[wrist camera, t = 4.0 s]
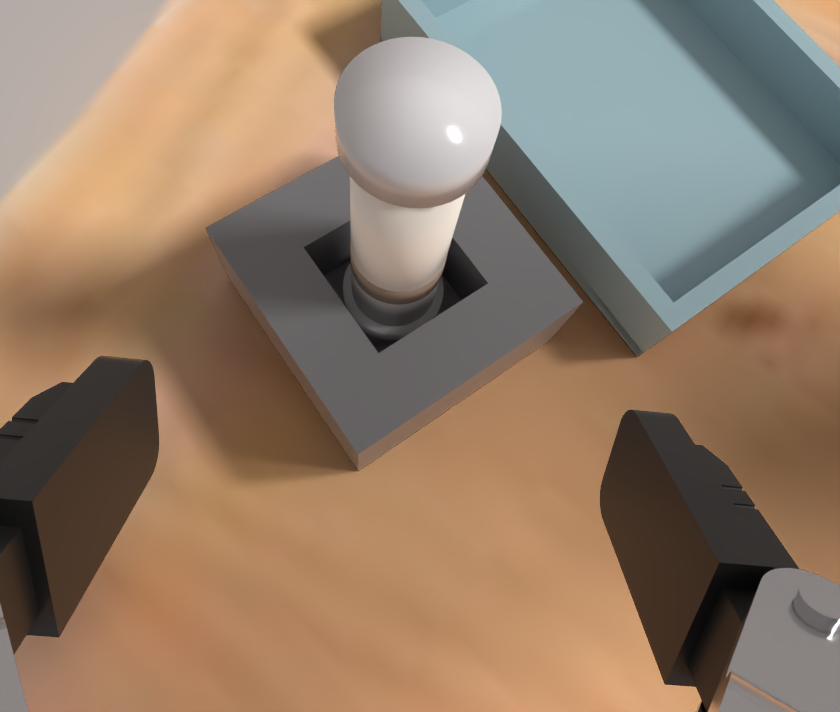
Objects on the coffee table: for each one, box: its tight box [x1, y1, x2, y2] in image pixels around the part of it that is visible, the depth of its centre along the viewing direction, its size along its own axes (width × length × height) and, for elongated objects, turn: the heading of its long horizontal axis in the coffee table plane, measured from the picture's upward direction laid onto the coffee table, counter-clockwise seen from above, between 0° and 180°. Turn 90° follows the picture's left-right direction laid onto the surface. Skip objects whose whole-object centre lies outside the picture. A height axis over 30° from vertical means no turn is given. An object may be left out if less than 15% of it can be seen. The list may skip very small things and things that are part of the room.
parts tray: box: [380, 0, 840, 357], centre depth 28 cm, size 14×18×3 cm
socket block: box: [206, 156, 583, 471], centre depth 23 cm, size 9×9×4 cm
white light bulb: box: [334, 37, 502, 345], centre depth 19 cm, size 4×4×11 cm
